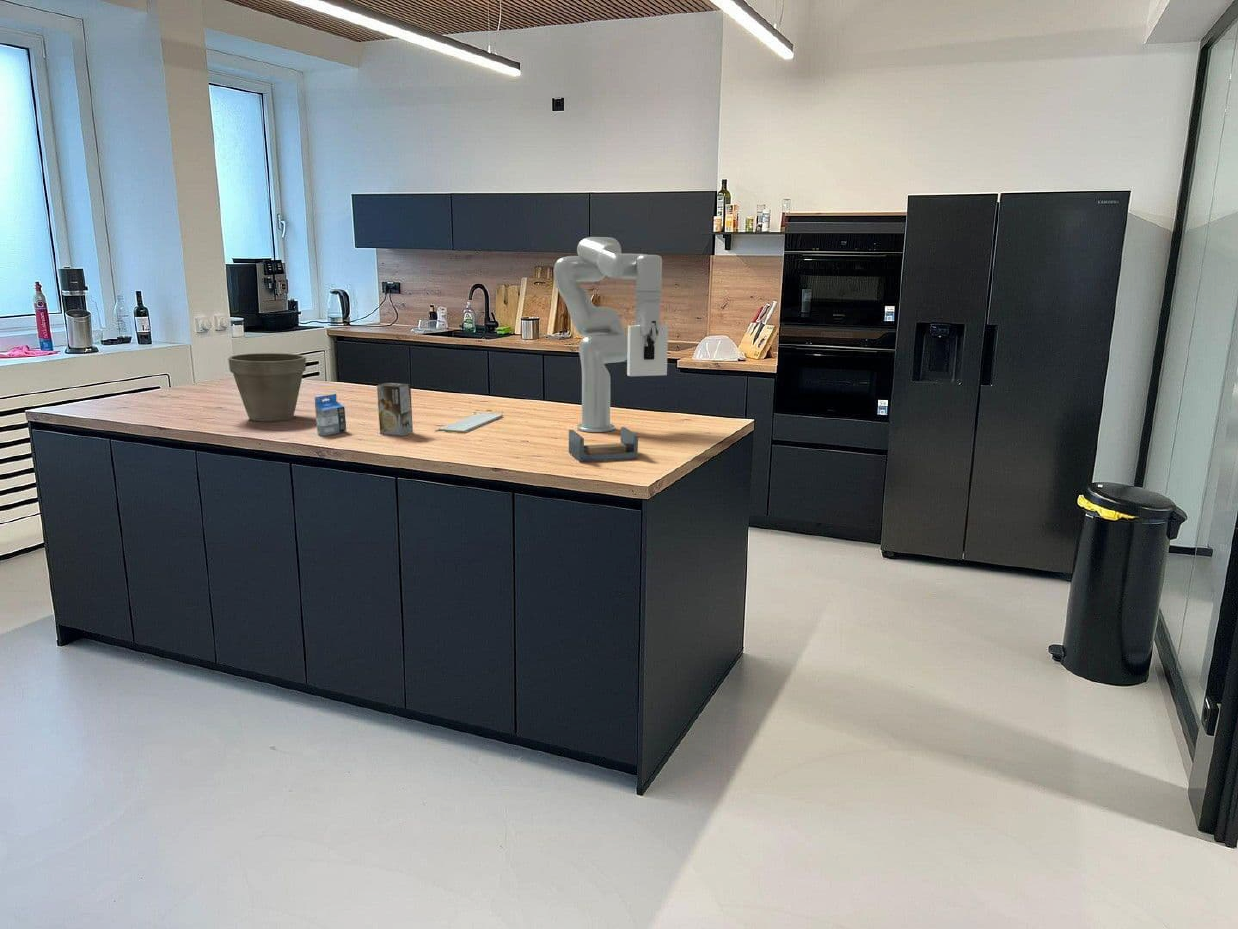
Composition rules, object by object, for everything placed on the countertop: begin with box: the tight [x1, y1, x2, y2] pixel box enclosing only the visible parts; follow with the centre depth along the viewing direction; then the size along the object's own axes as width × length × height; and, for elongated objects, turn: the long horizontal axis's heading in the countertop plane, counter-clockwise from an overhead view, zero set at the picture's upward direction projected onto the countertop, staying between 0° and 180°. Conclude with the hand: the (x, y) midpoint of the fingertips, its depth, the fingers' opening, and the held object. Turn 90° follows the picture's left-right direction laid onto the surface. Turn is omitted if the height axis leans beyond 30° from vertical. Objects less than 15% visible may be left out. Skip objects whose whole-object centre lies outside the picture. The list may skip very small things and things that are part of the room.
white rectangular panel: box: [626, 324, 669, 377], centre depth 263 cm, size 2×12×15 cm, turn 108°
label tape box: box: [314, 393, 347, 437], centre depth 280 cm, size 9×4×12 cm, turn 149°
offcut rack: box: [568, 426, 639, 463], centre depth 254 cm, size 13×17×7 cm
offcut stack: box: [584, 442, 626, 455], centre depth 252 cm, size 4×13×4 cm, turn 107°
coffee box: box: [376, 382, 414, 437], centre depth 280 cm, size 9×6×16 cm
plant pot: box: [227, 352, 307, 422], centre depth 302 cm, size 25×25×22 cm
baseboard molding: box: [434, 409, 504, 434], centre depth 299 cm, size 31×3×12 cm
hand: (647, 358), depth 263 cm, fingers closed on white rectangular panel, 2 cm apart
